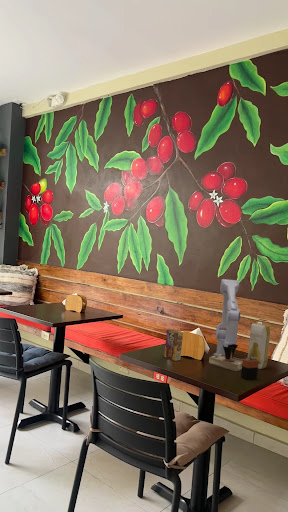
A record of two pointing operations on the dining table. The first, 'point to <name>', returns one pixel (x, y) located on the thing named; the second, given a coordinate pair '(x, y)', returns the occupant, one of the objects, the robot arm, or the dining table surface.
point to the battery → (249, 368)
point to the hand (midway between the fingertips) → (229, 358)
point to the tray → (220, 362)
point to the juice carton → (259, 343)
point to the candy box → (173, 344)
